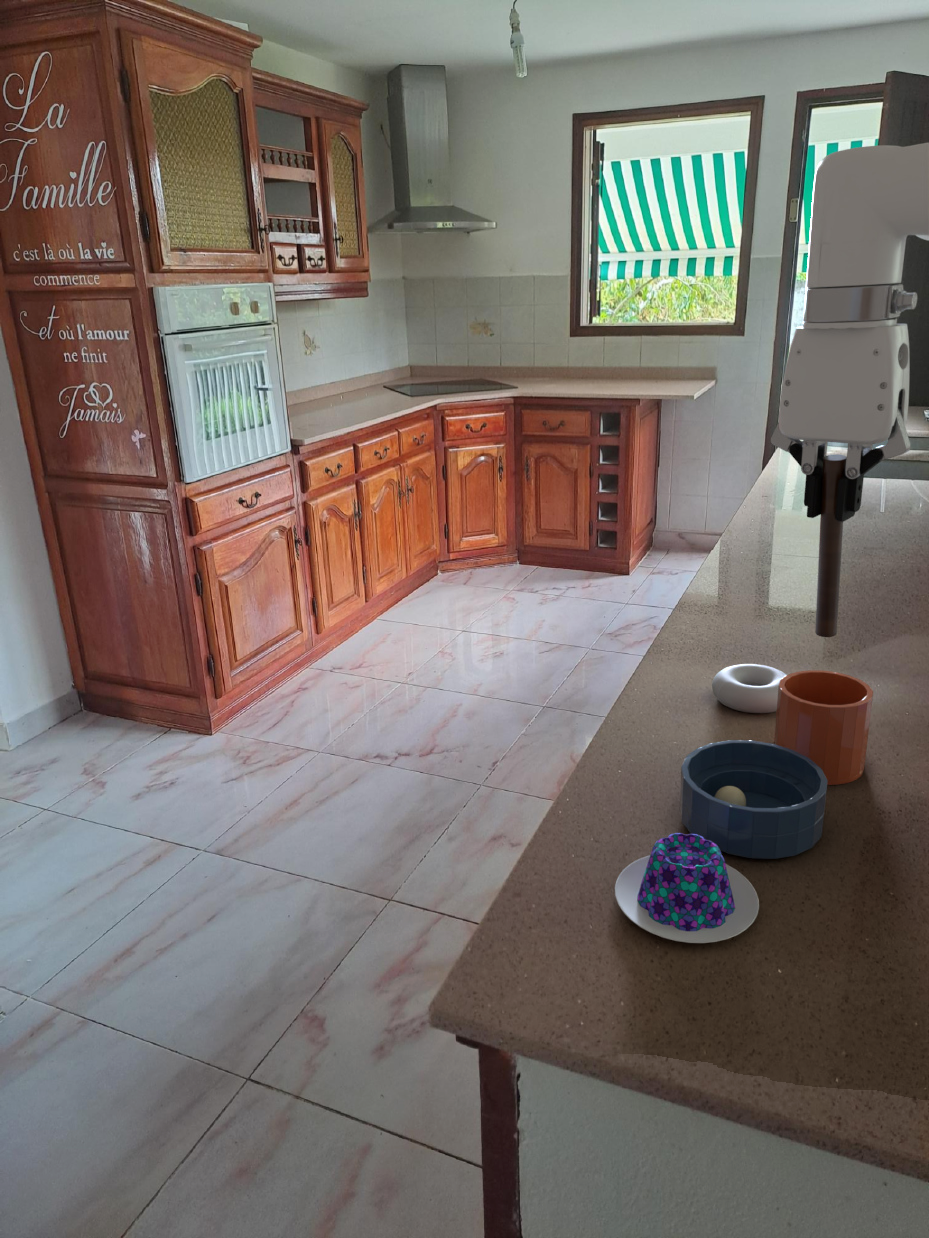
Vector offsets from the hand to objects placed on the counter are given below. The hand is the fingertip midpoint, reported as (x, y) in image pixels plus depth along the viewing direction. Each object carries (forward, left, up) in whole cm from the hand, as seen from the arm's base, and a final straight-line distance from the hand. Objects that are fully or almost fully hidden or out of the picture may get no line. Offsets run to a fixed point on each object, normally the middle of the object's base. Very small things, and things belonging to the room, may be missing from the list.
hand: (830, 515), depth 82 cm
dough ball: (+3, +11, -27) cm, 29 cm away
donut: (+13, -14, -29) cm, 35 cm away
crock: (+1, -4, -29) cm, 29 cm away
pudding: (0, +25, -29) cm, 38 cm away
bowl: (+1, +11, -29) cm, 31 cm away
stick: (0, -2, -12) cm, 13 cm away
